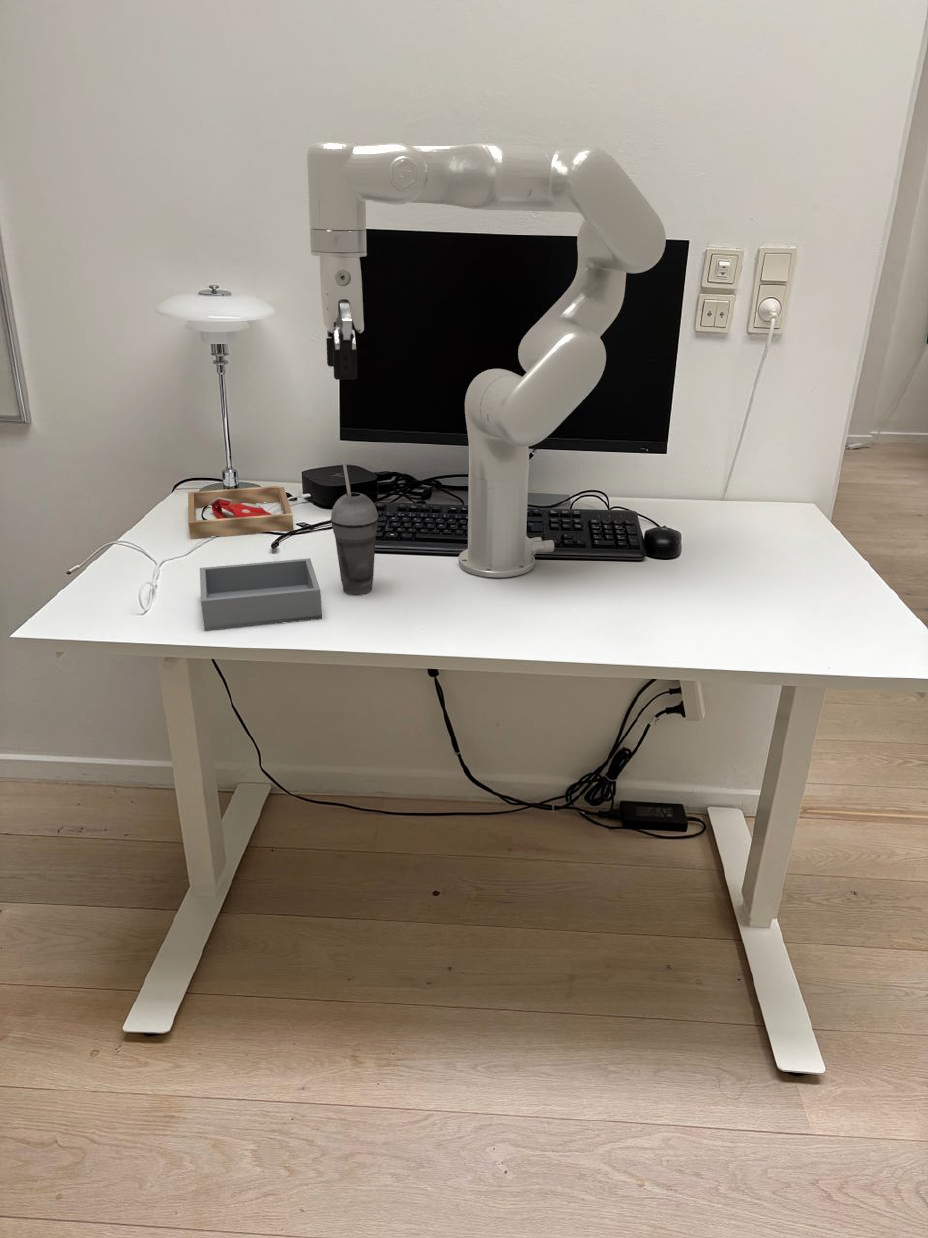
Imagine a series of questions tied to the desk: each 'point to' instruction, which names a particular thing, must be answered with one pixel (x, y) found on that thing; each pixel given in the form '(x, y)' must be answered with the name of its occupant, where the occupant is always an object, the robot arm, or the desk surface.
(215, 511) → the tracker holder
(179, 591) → the desk surface
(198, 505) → the oak organiser frame
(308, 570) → the charcoal tray
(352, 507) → the beverage cup
